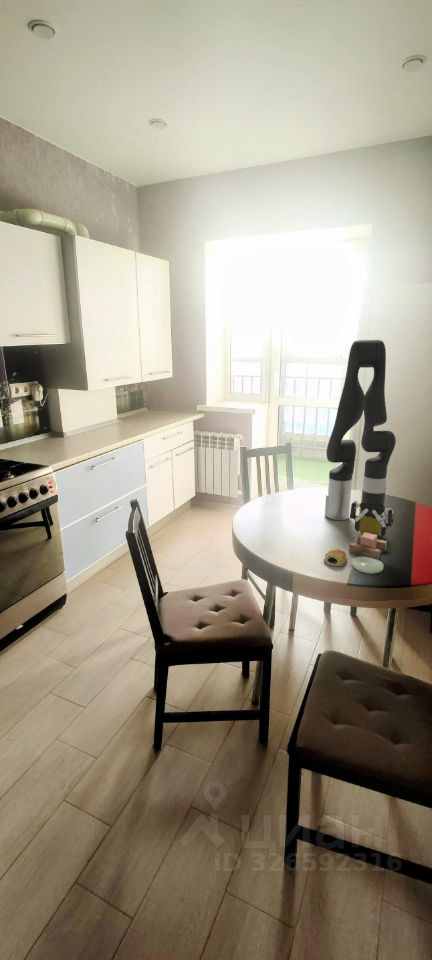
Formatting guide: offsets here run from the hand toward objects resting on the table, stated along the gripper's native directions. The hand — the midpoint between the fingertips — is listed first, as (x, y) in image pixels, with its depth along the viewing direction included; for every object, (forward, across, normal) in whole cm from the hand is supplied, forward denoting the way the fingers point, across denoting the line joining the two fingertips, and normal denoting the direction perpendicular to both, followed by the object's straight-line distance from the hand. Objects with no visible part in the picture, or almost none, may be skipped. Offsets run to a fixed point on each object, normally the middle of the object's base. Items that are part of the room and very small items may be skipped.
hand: (369, 533), depth 154 cm
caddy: (+7, 0, 0) cm, 7 cm away
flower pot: (+7, -4, +14) cm, 17 cm away
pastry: (+8, -7, -13) cm, 17 cm away
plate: (+7, +3, -11) cm, 13 cm away
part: (+7, 0, 0) cm, 7 cm away
